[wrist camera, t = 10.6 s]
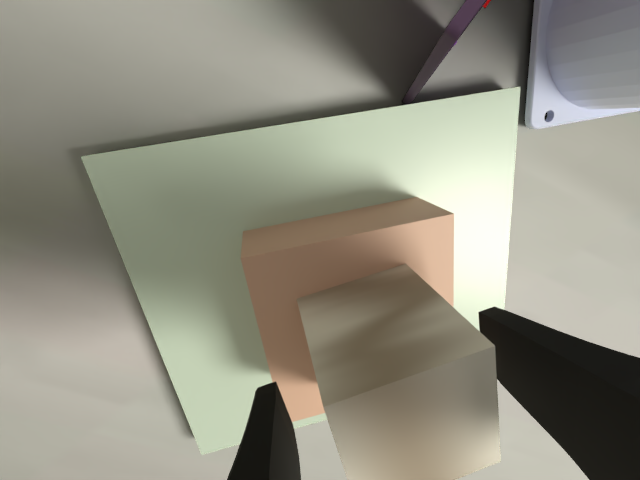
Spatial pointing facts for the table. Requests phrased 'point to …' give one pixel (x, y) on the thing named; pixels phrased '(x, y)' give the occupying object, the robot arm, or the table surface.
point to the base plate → (287, 206)
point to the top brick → (402, 379)
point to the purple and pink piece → (445, 44)
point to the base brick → (335, 275)
